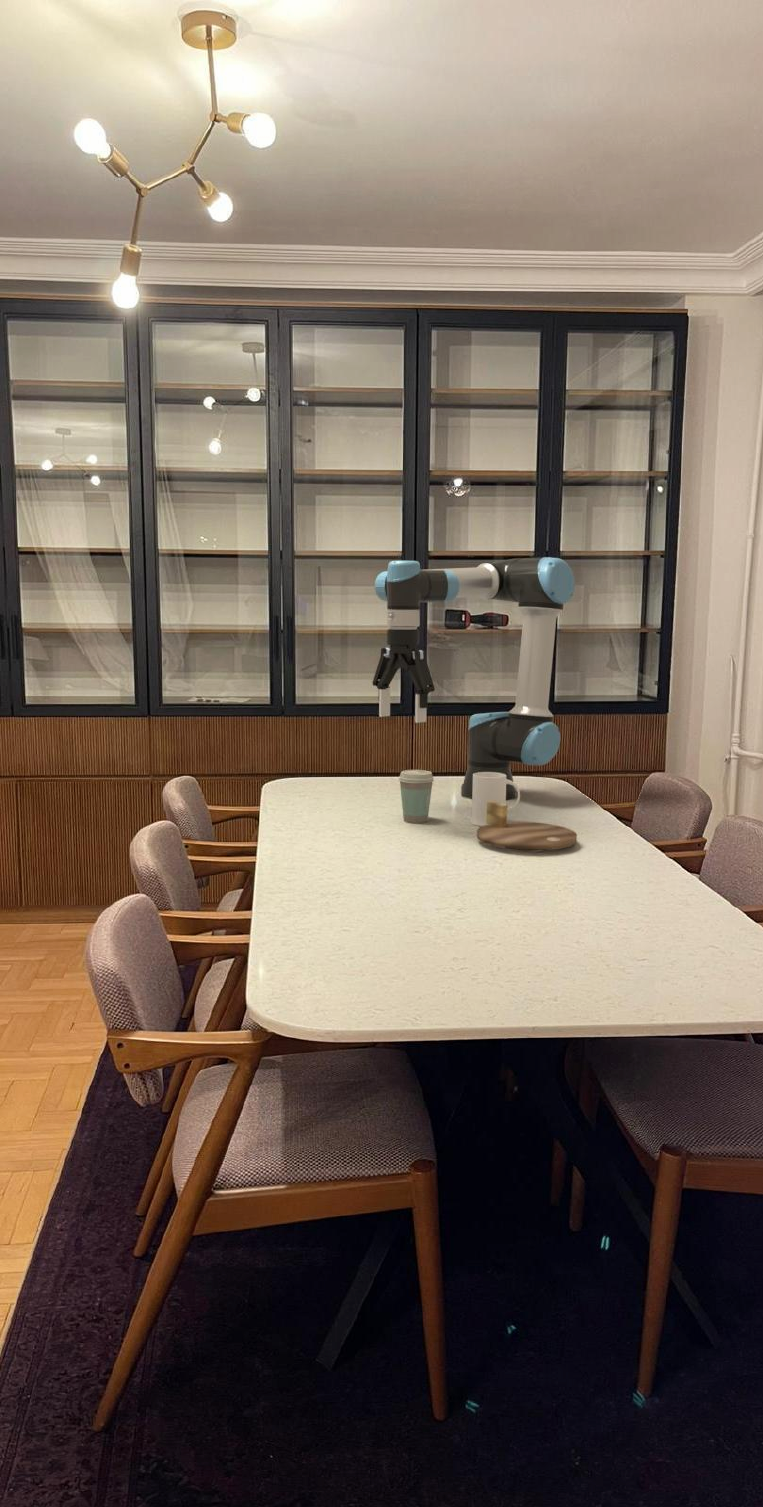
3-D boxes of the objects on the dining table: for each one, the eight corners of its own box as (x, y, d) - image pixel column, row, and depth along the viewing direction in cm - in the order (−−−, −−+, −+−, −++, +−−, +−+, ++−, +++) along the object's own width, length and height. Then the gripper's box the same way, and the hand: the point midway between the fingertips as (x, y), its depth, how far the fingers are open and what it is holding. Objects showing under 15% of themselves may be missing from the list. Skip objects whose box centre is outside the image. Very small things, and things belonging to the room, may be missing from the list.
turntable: (597, 840, 230) (598, 812, 229) (528, 855, 216) (529, 825, 215) (521, 822, 247) (522, 796, 246) (453, 834, 234) (454, 807, 233)
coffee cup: (433, 824, 250) (434, 775, 248) (398, 824, 250) (398, 774, 248) (432, 817, 258) (433, 769, 256) (398, 816, 258) (398, 769, 256)
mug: (517, 820, 256) (519, 772, 254) (521, 827, 247) (522, 778, 246) (469, 819, 256) (471, 771, 254) (471, 826, 248) (472, 777, 246)
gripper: (358, 626, 248) (358, 715, 252) (425, 630, 229) (424, 725, 232) (383, 626, 253) (382, 713, 256) (450, 629, 233) (449, 723, 237)
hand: (402, 719), depth 244 cm, fingers open, 13 cm apart
